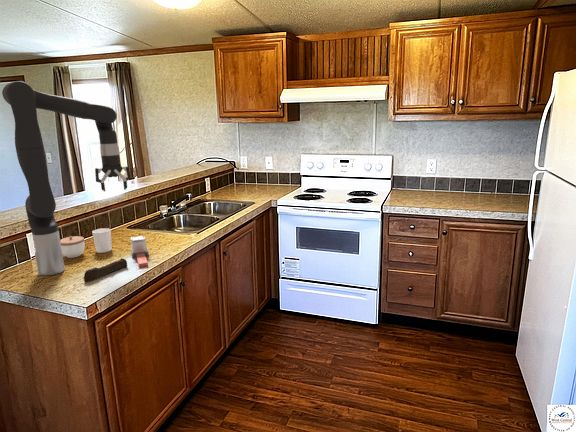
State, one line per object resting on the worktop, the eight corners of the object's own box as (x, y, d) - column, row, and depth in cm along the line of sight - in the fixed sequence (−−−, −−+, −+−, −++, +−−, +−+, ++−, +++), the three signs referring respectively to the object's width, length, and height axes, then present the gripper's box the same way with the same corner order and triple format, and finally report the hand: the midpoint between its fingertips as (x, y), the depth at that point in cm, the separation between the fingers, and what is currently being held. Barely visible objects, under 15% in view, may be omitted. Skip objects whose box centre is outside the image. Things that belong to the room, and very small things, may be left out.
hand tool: (122, 266, 172) (120, 256, 171) (128, 267, 170) (126, 257, 169) (80, 282, 156) (78, 271, 155) (86, 284, 154) (84, 273, 153)
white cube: (132, 253, 181) (131, 240, 179) (131, 249, 186) (130, 237, 185) (146, 251, 183) (145, 238, 182) (145, 247, 189) (144, 235, 187)
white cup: (109, 246, 197) (106, 227, 194) (115, 250, 191) (113, 230, 189) (92, 250, 192) (89, 230, 189) (98, 254, 186) (95, 234, 184)
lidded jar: (82, 258, 181) (79, 238, 179) (56, 260, 179) (53, 240, 177) (89, 250, 191) (86, 232, 189) (65, 252, 190) (62, 233, 187)
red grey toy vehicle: (134, 268, 168) (133, 257, 167) (131, 253, 187) (130, 243, 186) (152, 265, 171) (151, 254, 170) (147, 251, 190) (145, 241, 188)
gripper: (92, 155, 169) (97, 193, 173) (128, 153, 175) (132, 190, 179) (92, 154, 175) (97, 190, 180) (127, 152, 181) (131, 187, 185)
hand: (114, 190), depth 179 cm, fingers open, 8 cm apart
